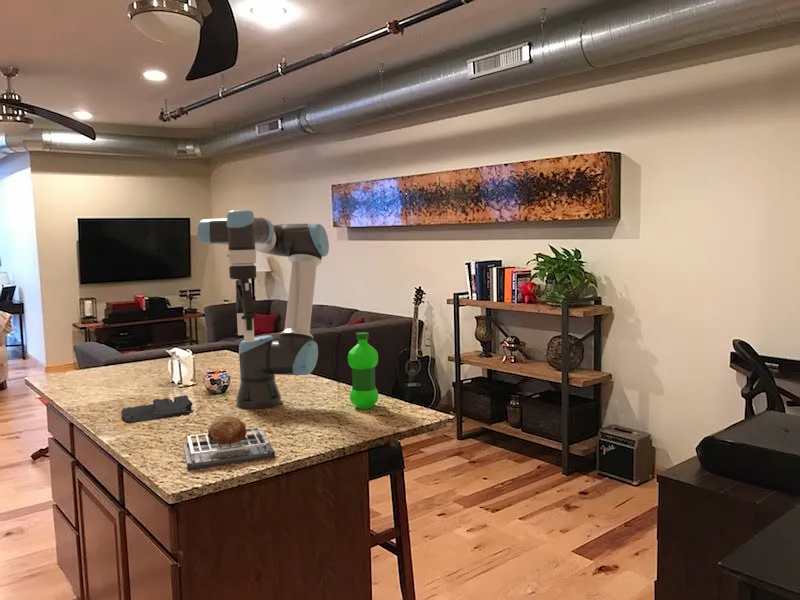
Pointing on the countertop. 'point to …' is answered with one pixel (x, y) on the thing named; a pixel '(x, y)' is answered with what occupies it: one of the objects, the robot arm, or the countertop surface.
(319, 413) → the countertop surface
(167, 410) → the dark slate chunk
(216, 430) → the bread roll
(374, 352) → the plastic bottle
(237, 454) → the cooling rack
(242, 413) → the countertop surface
